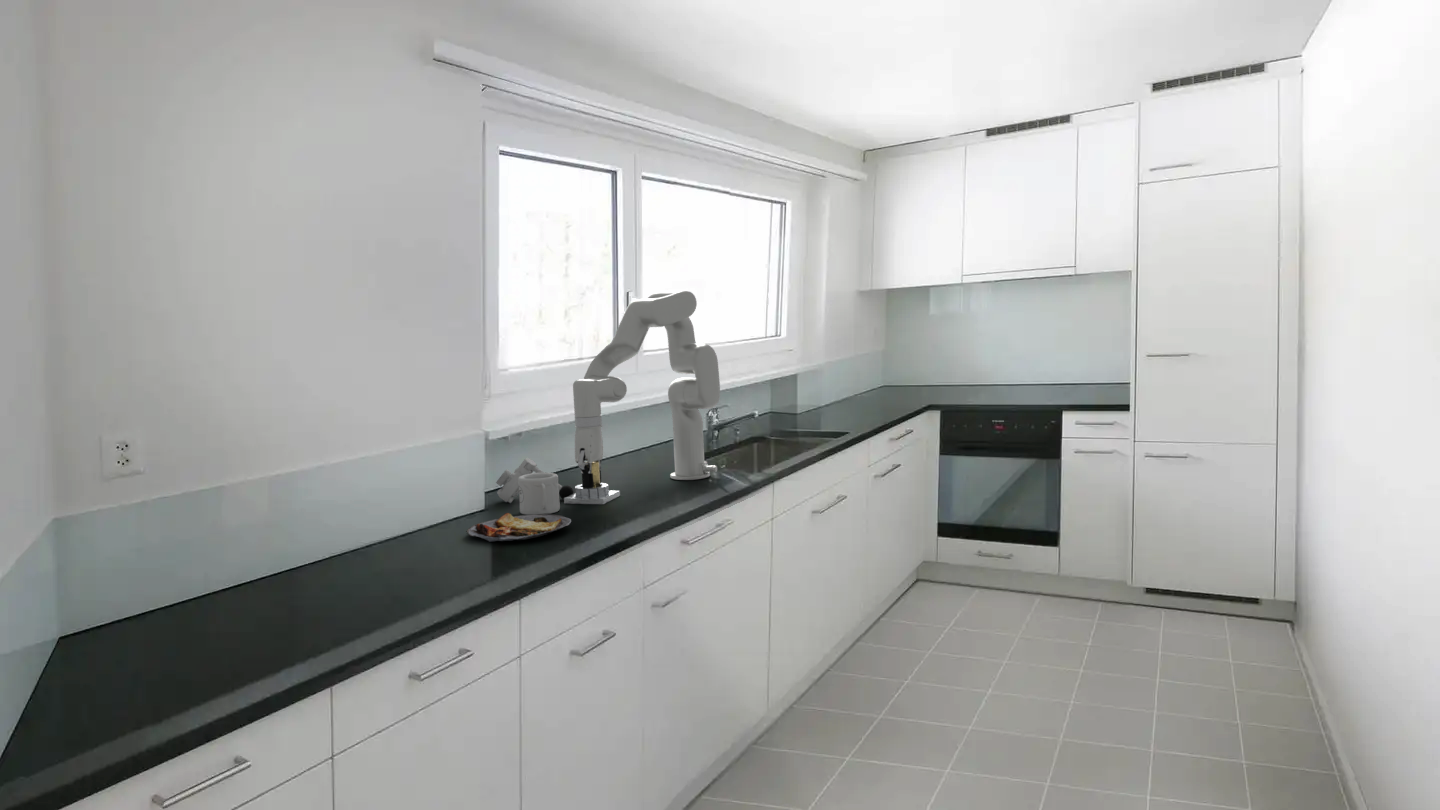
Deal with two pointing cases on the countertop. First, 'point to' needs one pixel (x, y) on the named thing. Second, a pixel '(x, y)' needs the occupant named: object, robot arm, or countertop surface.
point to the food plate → (518, 527)
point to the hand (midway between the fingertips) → (592, 484)
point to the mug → (538, 493)
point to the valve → (512, 485)
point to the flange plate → (592, 500)
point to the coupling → (595, 474)
